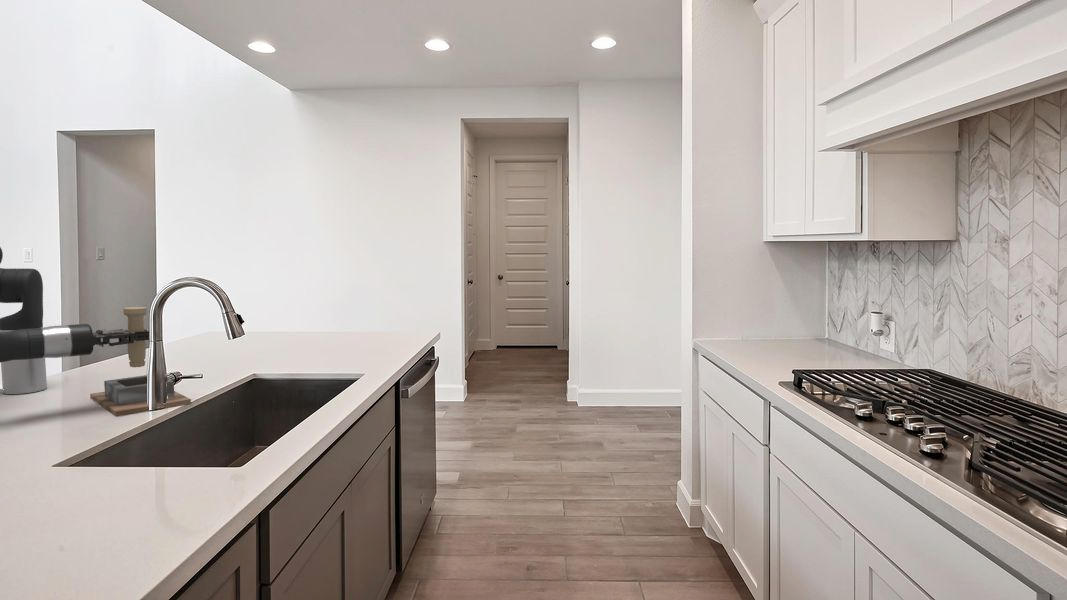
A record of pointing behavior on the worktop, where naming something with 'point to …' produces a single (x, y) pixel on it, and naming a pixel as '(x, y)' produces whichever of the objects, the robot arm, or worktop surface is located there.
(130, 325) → the handle
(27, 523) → the worktop surface
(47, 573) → the worktop surface
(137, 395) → the wooden base with tray
